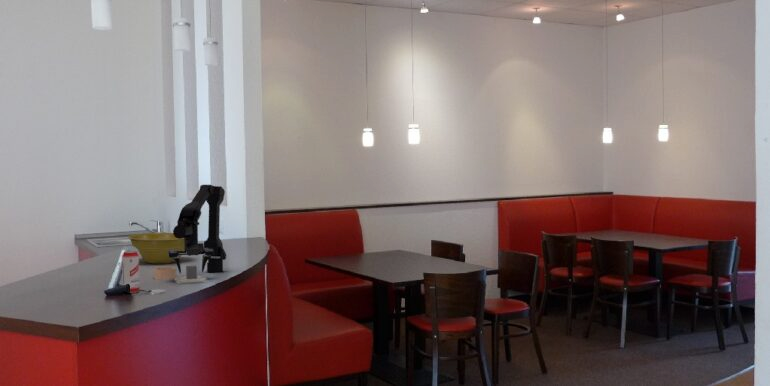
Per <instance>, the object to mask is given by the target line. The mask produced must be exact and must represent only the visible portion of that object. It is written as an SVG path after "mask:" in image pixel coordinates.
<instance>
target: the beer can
mask: <svg viewBox="0 0 770 386" xmlns="http://www.w3.org/2000/svg"><path fill="white" fill-rule="evenodd" d="M139 255H140V254H139V252H138V251H137V250H125V251H123V254H122V256H121V278H122V280H121V282H122V283H121V284H122V285H126V284H129V285H130V293H131V294H136V293H138V292H139V291H140V256H139Z"/></svg>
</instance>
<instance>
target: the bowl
mask: <svg viewBox="0 0 770 386" xmlns="http://www.w3.org/2000/svg"><path fill="white" fill-rule="evenodd" d="M153 278H154V280H171V279H175V278H177V268H176V267H174V266H173V267H172V266H162V267H161V266H160V267H153Z"/></svg>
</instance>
